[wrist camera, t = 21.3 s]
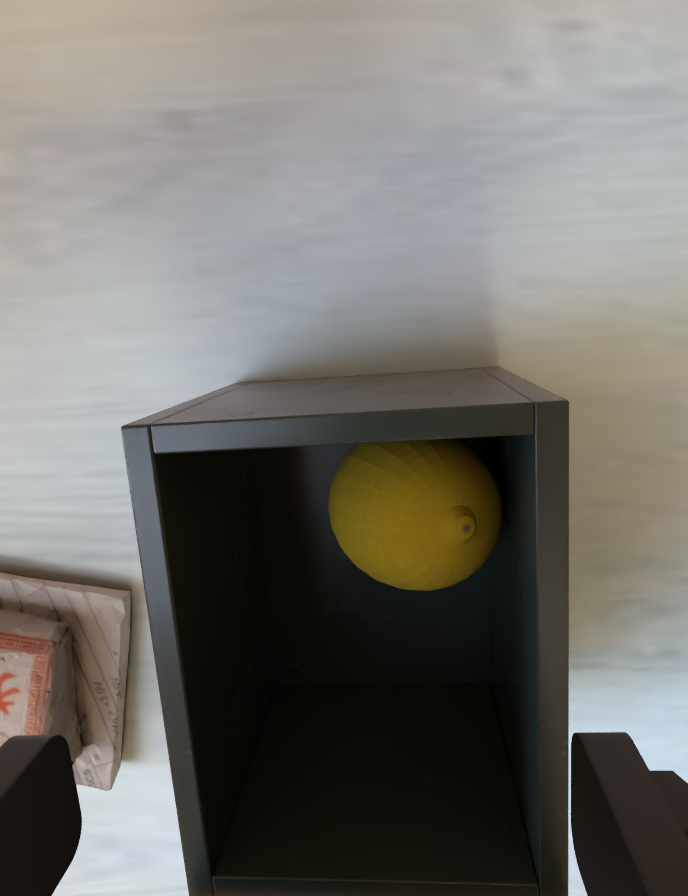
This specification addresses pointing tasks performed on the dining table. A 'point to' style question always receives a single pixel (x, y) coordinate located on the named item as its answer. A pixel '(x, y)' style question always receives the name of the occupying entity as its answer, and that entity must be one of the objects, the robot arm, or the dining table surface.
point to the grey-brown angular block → (65, 669)
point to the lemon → (415, 512)
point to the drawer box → (356, 645)
